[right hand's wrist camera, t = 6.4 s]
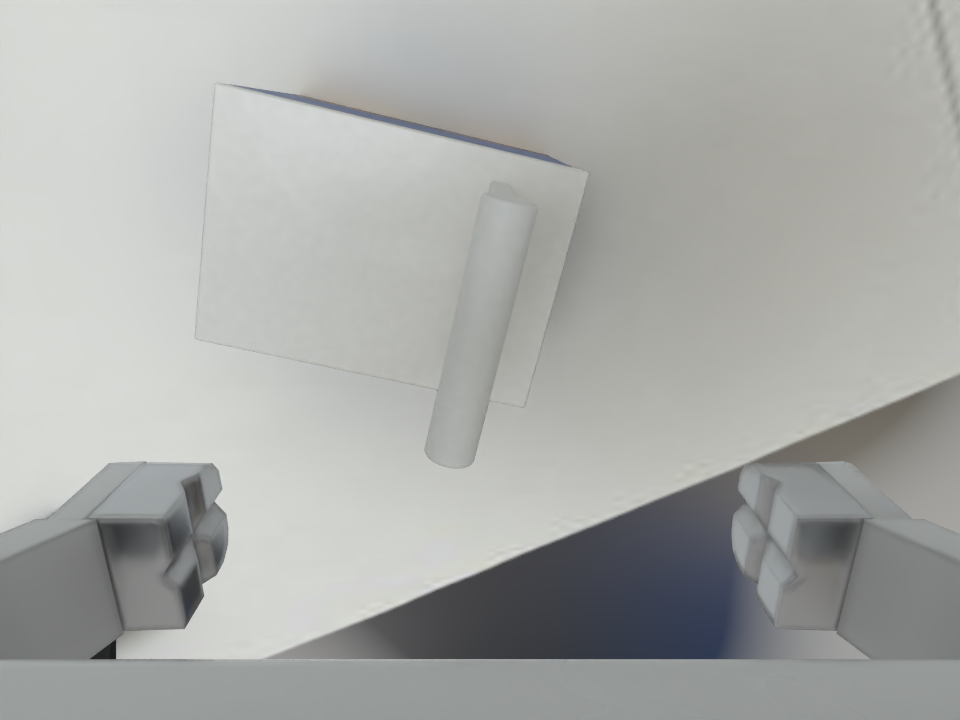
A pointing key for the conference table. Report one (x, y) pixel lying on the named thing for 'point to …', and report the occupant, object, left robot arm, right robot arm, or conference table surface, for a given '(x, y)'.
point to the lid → (383, 254)
